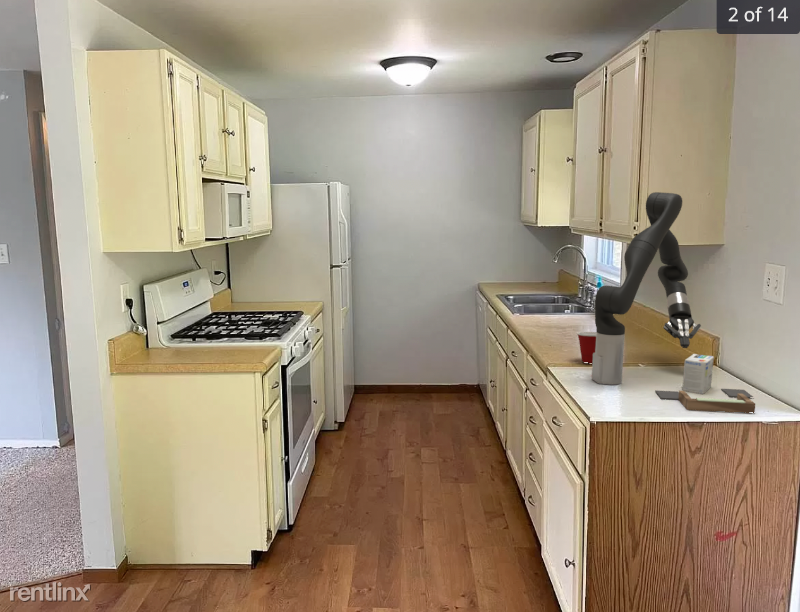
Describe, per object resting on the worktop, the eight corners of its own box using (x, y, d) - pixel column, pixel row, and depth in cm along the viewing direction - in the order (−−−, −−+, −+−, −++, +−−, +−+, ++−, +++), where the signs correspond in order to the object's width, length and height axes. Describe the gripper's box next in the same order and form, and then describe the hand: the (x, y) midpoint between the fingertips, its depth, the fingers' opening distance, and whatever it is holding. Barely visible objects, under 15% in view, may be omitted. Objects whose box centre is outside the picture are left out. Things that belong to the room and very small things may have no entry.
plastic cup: (598, 359, 244) (600, 329, 242) (608, 365, 233) (610, 335, 232) (571, 359, 244) (572, 329, 242) (580, 366, 233) (581, 335, 231)
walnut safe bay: (678, 399, 193) (679, 389, 192) (741, 403, 189) (742, 392, 189) (687, 409, 183) (688, 399, 182) (754, 413, 180) (755, 402, 179)
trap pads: (651, 386, 207) (651, 385, 206) (744, 391, 202) (744, 389, 202) (661, 399, 193) (661, 397, 193) (761, 404, 188) (761, 402, 188)
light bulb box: (690, 383, 210) (692, 353, 209) (711, 387, 206) (714, 356, 204) (681, 390, 202) (684, 359, 200) (703, 394, 198) (706, 362, 196)
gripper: (662, 301, 226) (668, 340, 216) (700, 302, 224) (708, 342, 214) (657, 312, 232) (663, 351, 222) (694, 313, 230) (702, 353, 220)
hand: (685, 346), depth 218 cm, fingers closed
